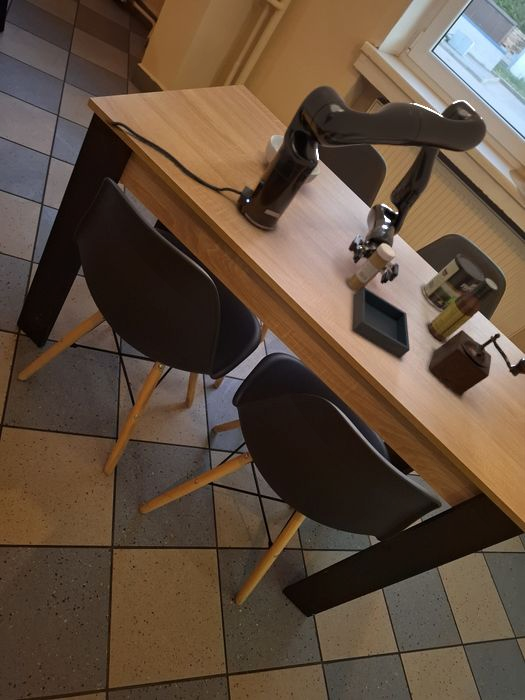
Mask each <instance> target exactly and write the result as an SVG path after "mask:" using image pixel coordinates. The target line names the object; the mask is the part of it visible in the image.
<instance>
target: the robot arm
mask: <svg viewBox="0 0 525 700" xmlns="http://www.w3.org/2000/svg"><path fill="white" fill-rule="evenodd" d="M109 124H110V125H111V126H120V127H122V128H124V129H125V130H127V131H128V132H129V133H130V134H132V135H133V136H134V137H136V138H137V139H139V140H141V141H142V142H144V143H146V144H148V145H150V146H152V147H153V148H155V149H157V150H158V151H159V152H161V153H163V154H164V155H165V156H167V157H168V158H170V159H171V160H172V161H173V162H174V163H175V164H176V165H177V166H178V167H179V168H181V170H183V172H185V173H186V174H187V175H189V176H190V177H192V178H193V179H195V180H196V181H198V182H199V183H201V184H202V185H203V186H205V187H206V188H209V189H211V190H213V191H217V192H225V191H227V192H231V193H235V194H237V195H239V196H238V199H237V203H238V204H240V205H241V206H242V207H241V210H240V213H241V214H243V215H244V217H245V218H246V219H247V220H248V221H249V222H250V223H251V224H253V225H254V226H255V227H258V228H260V229H262V230H266V231H270V230H273V229H274V228H275V227H276V225H277V224H278V222H279V221H280V219H281V218H282V216H283V215H284V213H285V212H286V211H287V210H288V208H289V207H290V205H291V203H292V202H293V201H294V200H295V198H296V196H297V195H298V194H299V192H300V191H301V190H302V188H303V187H304V185H306V184H305V182H306V181H307V179H308V178H309V177H310V175H311V174H312V172H313V171H314V170H315V168H316V167H317V165H319V161H320V157H319V151H318V149H319V148H318V145H320V146H322V147H326V148H340V147H352V146H363V145H364V146H365V145H366V146H368V145H369V146H390V147H415V148H416V147H417V148H420V149H419V151H418V153H417V155H416V157H415V159H414V161H413V162H412V163H411V166H410V167H409V168H408V170H407V172H406V173H405V174H404V175H403V177H402V178H401V179H400V181H399V182H398V183H397V185H395V188H393V190H392V191H391V193H390V195H389V200H390V202H391V204H392V205H393V206H394V207H395V208H396V210H397V212H396V211H395V210H393V209H392V208H390V207H389V206H387V205H386V204H384V203H378V204H375V205H373V206H372V207H371V208H370V210H369V211H368V214H367V217H366V225H367V228H368V232H367V234H366V236H365V238H364V241H363V239H362V235H361V234H359V233H358V234H357V235H356V236H355V237H354V238H353V240H352V241H351V242H350V245H349V247H348V250H349V252H353V256H352V260H353V263H354V264H355V265H356V264H357V263H358V262H360V260H361V259H365V260H367V259H368V258H369V257H371V255H372V254H373V253H374V252H375V251H376V249H377V248H378V247H379V246H380V245H381V244H382V243H385V244H387V245H389V246H390V247H391V248H392V249H393V246H394V237H395V236H396V235H397V234H399V233H400V231H401V229H402V227H403V225H404V222H405V220H406V217H407V216H408V214H409V211H410V210H411V209H412V207H413V205H415V203H416V202H417V201H418V199H420V197H421V196H422V195H423V193H424V192H425V191H426V190H427V188H428V185H429V183H430V181H431V177H432V174H433V170H434V166H435V163H436V159H437V158H438V154H439V152H440V150H444V151H449V152H453V153H465V152H468V151H471V150H473V149H475V148H476V147H478V146H479V145H480V144H481V143H482V142H483V141H484V139H485V137H486V135H487V125H486V122H485V120H484V119H483V117H481V115H480V114H479V113H478V112H477V111H476V110H475V109H474V108H473V107H472V106H471V105H470V103H468V102H467V101H465V100H456V101H454V102H452V103H450V104H449V105H448V106H447V107H446V108H445V109H444V110H443V111H442V112H441V113H440V114H439V113H437V112H436V111H434V110H432V109H430V108H428V107H425V106H423V105H421V104H418V103H413V102H404V101H391V102H388V103H385V104H384V105H382V106H381V107H379V108H378V109H377V110H375V111H374V112H365V111H358V110H355V109H352V108H351V107H349V106H348V104H347V103H346V101H345V100H344V99H343V98H342V96H341V94H339V92H338V91H337V90H336V89H335V88H333V86H331V85H326V84H325V85H320V86H317V87H315V88H314V89H313V90H311V91H310V92H309V93H308V94H307V95H306V96H305V98H304V99H303V100H302V101H301V103H300V105H299V106H298V108H297V109H296V111H295V114H294V116H293V117H292V118H291V120H290V123H289V124H288V126H287V128H286V130H285V132H284V134H283V136H284V138H283V143H282V145H281V146H280V148H279V150H278V151H277V153H276V154H275V156H274V158H273V159H272V161H271V162H270V164H269V163H268V165H267V167H266V169H265V170H264V171H263V172H262V173H261V174H260V176H259V178H258V180H257V181H256V183H255V184H254V186H253V187H252V188H250V187H248V186H247V185H245V186H244V187H243V189H242V191H240V190H237V189H235V188H231V187H216V186H214V185H211V184H209V183H208V182H206V181H204V180H203V179H201V178H200V177H199V176H197V175H196V174H194V173H193V172H191V170H189V169H188V168H186V167H185V166H184V165H183V164H182V163H181V162H180V161H179V160H178V159H177V158H176V157H175V156H173V155H172V154H171V153H170V152H168V151H167V150H166V149H164V148H162V146H159V145H158V144H156V143H155V142H153V141H150V140H149V139H147V138H145V137H144V136H142V135H140V134H138V133H137V132H136V131H134V130H133V129H132V128H131V127H130V126H128V125H127V124H125V123H123V122H120V121H112V122H109ZM399 270H400V265H399V263H397V262H395V263H392V262H391V261H390V262H388V263H387V264H386V266H385V267H384V268H383V269H382V270H381V271H380V272H379V273H380V275H381V278H380V284H382V285H383V284H387V283H388V282H389V283H390V282H393V281H394V280H395V279H396V278H397V277H398V276H399Z"/></svg>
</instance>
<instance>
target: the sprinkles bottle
mask: <svg viewBox="0 0 525 700" xmlns="http://www.w3.org/2000/svg"><path fill="white" fill-rule="evenodd" d="M395 257H396V252H395V250H394V248H393V247H392V248H391V247H390V246H389V245H387V244H385V243H382V244H381V245H380V246H379V247H378V248H377V249H376V251H375V252H374V253H373V254H372V255H371V257H369V258H368V259H366V260H365V262H364V263H362V265H361V266H360V267H359V268H358V269H357V270H356V272H354V274H353V275H352V276H351V277H350V278H348V280H347V283H348V286H349V287H350V288H351V289H352V290H353V291H354V292H357V291H358V290H359V289H360V288H361V287H362V286H363V287H365V288H366V286H367V285H368V284H370V283H371V282H372V281H373V280H374V279H375V278H376V277H377V275H378V274H379V273H380V271H381V270H382V269H383V268H384V267H385V266H386V264H387V263H388V262H391V261H392V260H393V259H395Z"/></svg>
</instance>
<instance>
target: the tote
mask: <svg viewBox="0 0 525 700" xmlns="http://www.w3.org/2000/svg"><path fill="white" fill-rule="evenodd" d="M352 307H353V309H352V332H354V333H356V334H357V335H359V336H361V337H363V338H364V339H366V340H368V341H369V342H371V343H372V344H374V345H376V346H378V348H381V349H382V350H385V351H386V352H388V353H390V354H391V355H393V356H395V357H397V358H398V359H401V358H403V356H405V355H406V354H407V353H408V352H410V351H411V350H410V338H409V327H408V326H409V325H408V317H407V313H406V312H405V311H404V310H402V309H400V308H399V307H397V306H395V305H394V304H392V303H390V302H389V301H388V300H386V299H384V298H383V297H381V296H379V295H378V294H376V293H374V292H373V291H371V289H368V288H367V287H366V286H365V287H363V286H362V287H361V288H360V289H359V290H358V291H355V293H354V294H353V305H352Z"/></svg>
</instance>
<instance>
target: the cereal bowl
mask: <svg viewBox="0 0 525 700" xmlns="http://www.w3.org/2000/svg"><path fill="white" fill-rule="evenodd" d="M283 138H284V135H280V134H274V135H272V136H271V137H270V138H269V140H268V141H267V144H266V147H265V158H266V160H267V162H268V165H269V164H270V162H271V161H272V159H273V158H274V156H275V154H276V153H277V151H278V150H279V148H280V146H281V145H282V143H283ZM320 171H321V169H320V165H319V164H318V165H317V167H316V168H315V170H314V171H313V172H312V174H311V175H310V177H309V178H308V179H307V181H306V182H305V184H304V185H308V184H310V183H312V182H313V181H314V180H315V179H316V178H317V176H319V174H320Z"/></svg>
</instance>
